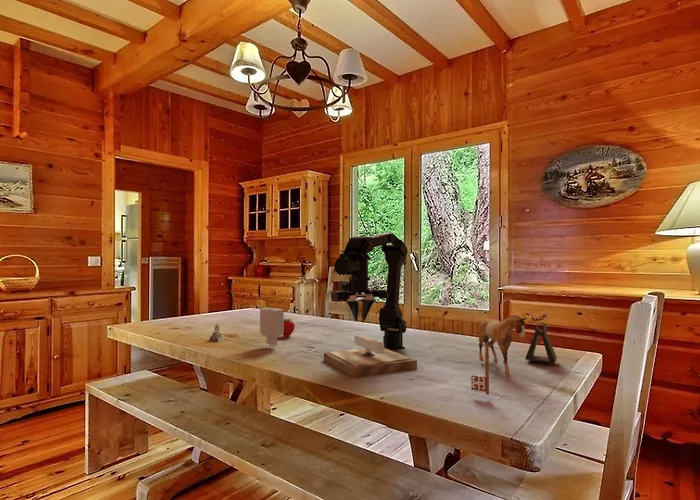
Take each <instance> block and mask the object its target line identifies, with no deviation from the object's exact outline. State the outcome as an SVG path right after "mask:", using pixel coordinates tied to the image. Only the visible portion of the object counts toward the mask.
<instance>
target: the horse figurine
mask: <svg viewBox="0 0 700 500" xmlns="http://www.w3.org/2000/svg"><path fill="white" fill-rule="evenodd" d="M526 319H528V318H527V317H524V318H523V317H521V316H520V315H516V314H514V315H513V314H512V315H510V316H506V318H504V319H502V320H501V321H500V320H499V319H496V318H487V319H484V320H482V321H481V322H480V323H479V328H478V331H479V332H478V333H479V337H480V336H481V335H483V334H490V335H492V336H493V337H494V338H495V343H497V346H498V347H499V350H500V352H501V354H502V357H503V362H502V363H503V365H504V374H505V376H510V366H509V363H508V350H509V348H510V346H511V343H512V342H513V340H514V333H513V330H514V331H516V333H517V334H518V336H519V338H520V339H523V338H524V337H525V336H526V332H525V327H526V322H525V320H526ZM489 340H490V341H489ZM481 342H482V343H483V344H486V342H488V345H491V344H493V342H494V340H493V338H492V337H491V336H488V335H484V336H482V337H481ZM483 346H484V345H482V344H481V343H480V342H479V343H478V347H479V353H478V355H479V358H478V359H479V361H480V362H485V359H484V356H483V353H482V350H483V349H482V348H483ZM488 348H489V349H490V350H491V351H492V355H493V357H494V358H493V362H494V364H498V357H497V353H496V350H495V348H494V345H492V346H488Z"/></svg>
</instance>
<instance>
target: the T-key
mask: <svg viewBox="0 0 700 500" xmlns="http://www.w3.org/2000/svg"><path fill="white" fill-rule="evenodd" d="M353 338H354V345H356V346H358V347H360V348H365V354H372V352H375V353H377V354H383V353H384V343H383V342H381V341H378V340H376V339H373V338H370V337H368V336H365V335H362V334H355V335H354V337H353Z"/></svg>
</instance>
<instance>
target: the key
mask: <svg viewBox="0 0 700 500" xmlns="http://www.w3.org/2000/svg"><path fill="white" fill-rule="evenodd" d="M484 335H488V336H491V337H492V338H493V340H494V342H493V344H491V345H488V342H486V344H485V343H484V342H483V343H482V342H481V337H482V336H484ZM478 342H479V343H481V344H482V345H483V346H484V347H485V349H484V350H485V353H484V357H485V359H484V362H485V363H484V365H485V366H484V367H485V369H484V370H485V371H484V372H485V376H479V375H473V374H472V375H471V377H470V380H471V388H470V389H471V390H472V391H480V392H485V395H487V396H489V395H490V352H489V349H490V348H489V346H492V345H493V346H494V345H495V343H496V342H495V338H494V337H493V336H492V335H490V334H483V335H481V336H480V335H479V337H478Z"/></svg>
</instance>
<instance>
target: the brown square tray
mask: <svg viewBox="0 0 700 500" xmlns="http://www.w3.org/2000/svg"><path fill="white" fill-rule="evenodd" d="M323 361H324V362H325V363H327V364H329V365H331V366H332V367H333V368H336V369H338V370H340V371H341V372H343V373H344V374H346V375H348V376H350V377H351V378H352V379H353V378H359V377H360V378H361V377H366V376H373V375H374V376H375V375H380V374H381V375H382V374H387V373H393V372H394V373H395V372H401V371H406V370H415V369H418V360H417V359H415V358H413V357H410V356H407V355H405V354H402V353H400V352H397V351H394V350H389V349H387V348H384V353H383V354H377V353H375V352H372V354H365V348H363V347H360V348H354V349H344V350H335V351H329V352H326V351H325V352H323Z"/></svg>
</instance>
